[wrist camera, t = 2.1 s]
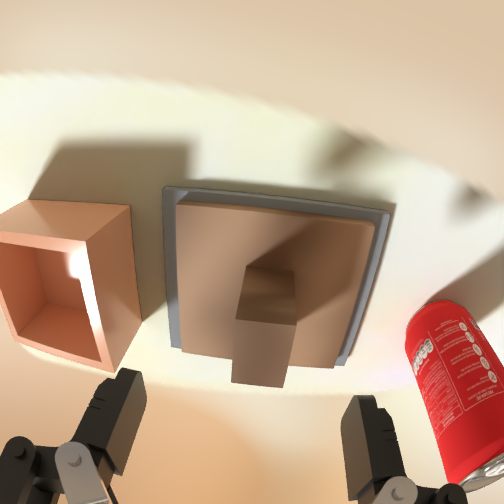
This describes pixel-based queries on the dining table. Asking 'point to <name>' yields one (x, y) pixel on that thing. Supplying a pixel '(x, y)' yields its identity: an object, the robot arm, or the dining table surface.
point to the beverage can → (459, 391)
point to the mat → (276, 202)
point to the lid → (267, 286)
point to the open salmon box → (70, 279)
